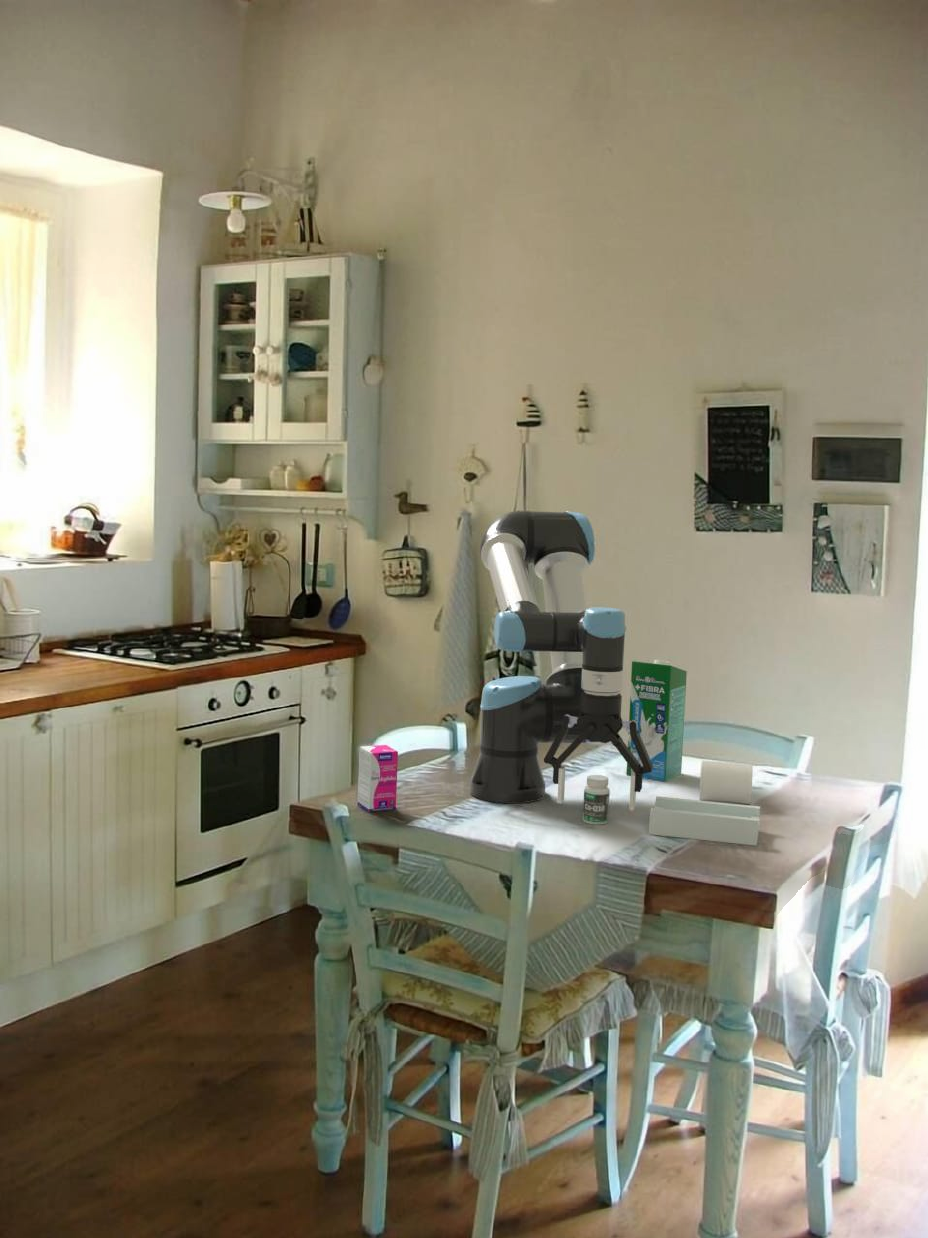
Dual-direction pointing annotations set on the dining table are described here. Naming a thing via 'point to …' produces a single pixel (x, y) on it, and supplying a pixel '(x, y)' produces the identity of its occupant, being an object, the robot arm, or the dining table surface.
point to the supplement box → (377, 778)
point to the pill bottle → (596, 800)
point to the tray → (705, 820)
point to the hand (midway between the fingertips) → (596, 805)
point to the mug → (726, 782)
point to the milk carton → (658, 716)
